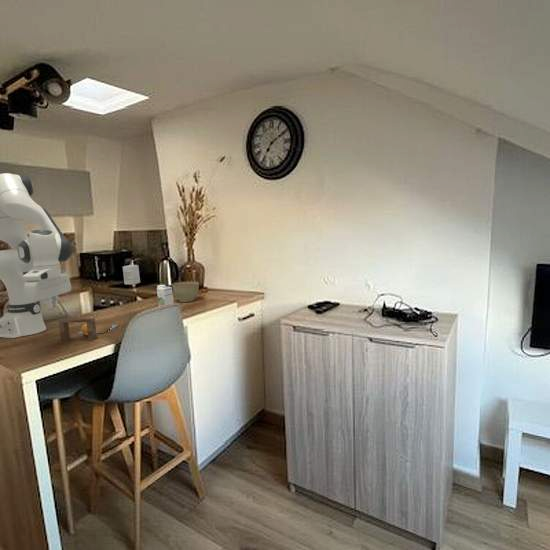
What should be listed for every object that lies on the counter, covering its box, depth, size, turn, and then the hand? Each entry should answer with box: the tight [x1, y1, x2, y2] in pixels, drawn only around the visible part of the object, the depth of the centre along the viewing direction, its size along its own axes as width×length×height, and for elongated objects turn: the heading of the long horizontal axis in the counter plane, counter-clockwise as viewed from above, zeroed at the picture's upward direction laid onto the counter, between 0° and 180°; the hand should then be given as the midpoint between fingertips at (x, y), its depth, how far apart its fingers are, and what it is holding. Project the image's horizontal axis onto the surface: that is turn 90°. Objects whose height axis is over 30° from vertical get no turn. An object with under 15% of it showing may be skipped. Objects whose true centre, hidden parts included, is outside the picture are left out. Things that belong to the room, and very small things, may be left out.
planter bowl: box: [171, 281, 200, 303], centre depth 223 cm, size 16×16×11 cm
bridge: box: [58, 316, 98, 341], centre depth 155 cm, size 3×14×9 cm, turn 84°
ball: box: [81, 322, 88, 337], centre depth 160 cm, size 6×6×6 cm
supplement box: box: [122, 264, 141, 286], centre depth 297 cm, size 9×9×15 cm
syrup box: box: [156, 285, 174, 308], centre depth 192 cm, size 6×6×14 cm
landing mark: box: [76, 324, 119, 335], centre depth 169 cm, size 13×13×1 cm
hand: (52, 308), depth 140 cm, fingers closed
